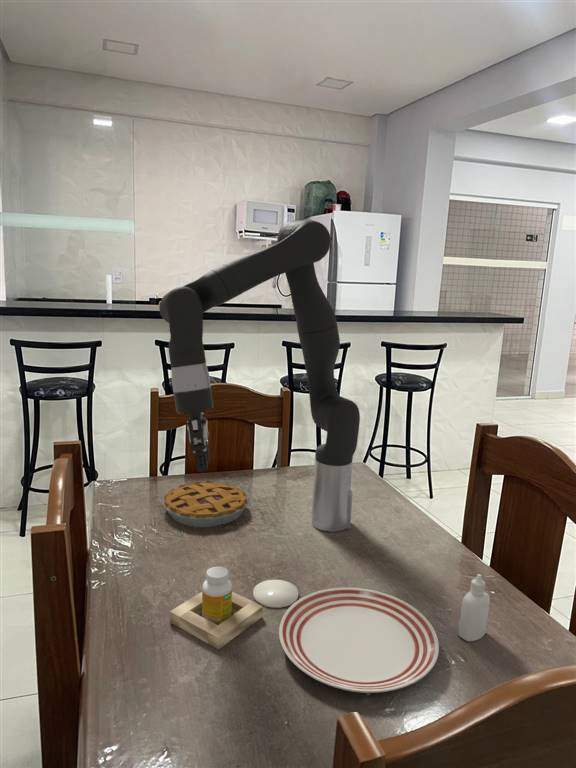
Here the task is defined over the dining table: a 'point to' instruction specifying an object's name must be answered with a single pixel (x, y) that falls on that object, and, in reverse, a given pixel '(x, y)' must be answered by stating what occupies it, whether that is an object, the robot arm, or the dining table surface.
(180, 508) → the pie
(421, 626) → the dinner plate
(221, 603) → the supplement bottle
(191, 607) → the birch pocket block
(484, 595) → the eye dropper bottle
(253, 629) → the dining table surface
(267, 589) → the pale ceramic coaster
